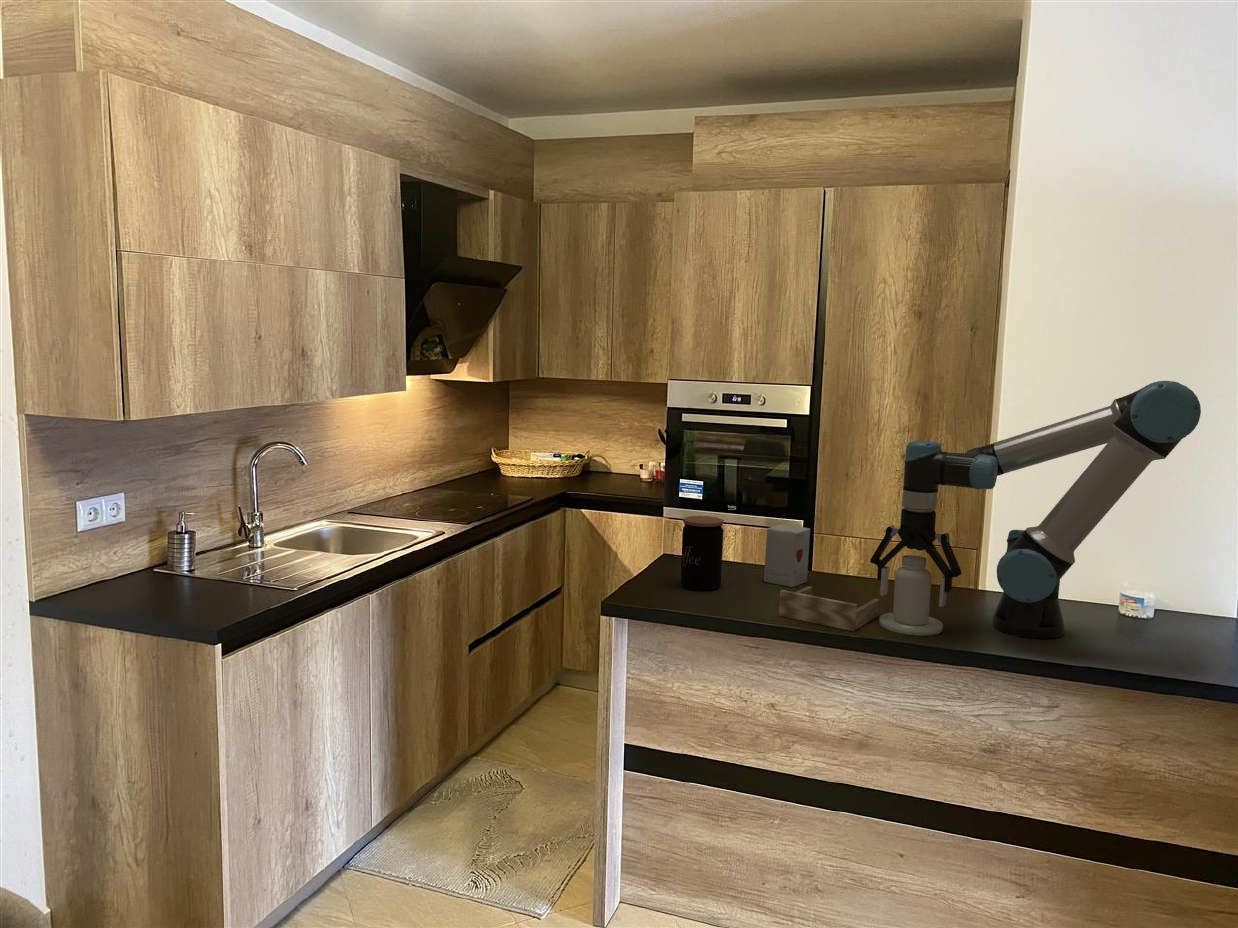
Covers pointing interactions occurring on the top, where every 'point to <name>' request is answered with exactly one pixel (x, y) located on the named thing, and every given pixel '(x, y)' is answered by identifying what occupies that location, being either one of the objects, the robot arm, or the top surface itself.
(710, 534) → the coffee jar
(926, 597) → the pill bottle
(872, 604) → the oak stall
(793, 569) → the supplement box
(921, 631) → the sage coaster
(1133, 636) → the top surface
